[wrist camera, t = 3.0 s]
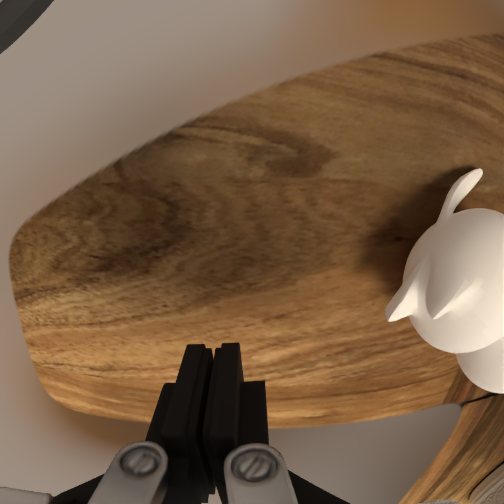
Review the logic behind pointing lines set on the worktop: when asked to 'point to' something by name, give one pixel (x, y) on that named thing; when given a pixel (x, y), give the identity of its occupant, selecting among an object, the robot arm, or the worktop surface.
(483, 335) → the cat figurine
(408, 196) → the worktop surface
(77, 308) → the worktop surface
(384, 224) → the worktop surface
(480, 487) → the jar
